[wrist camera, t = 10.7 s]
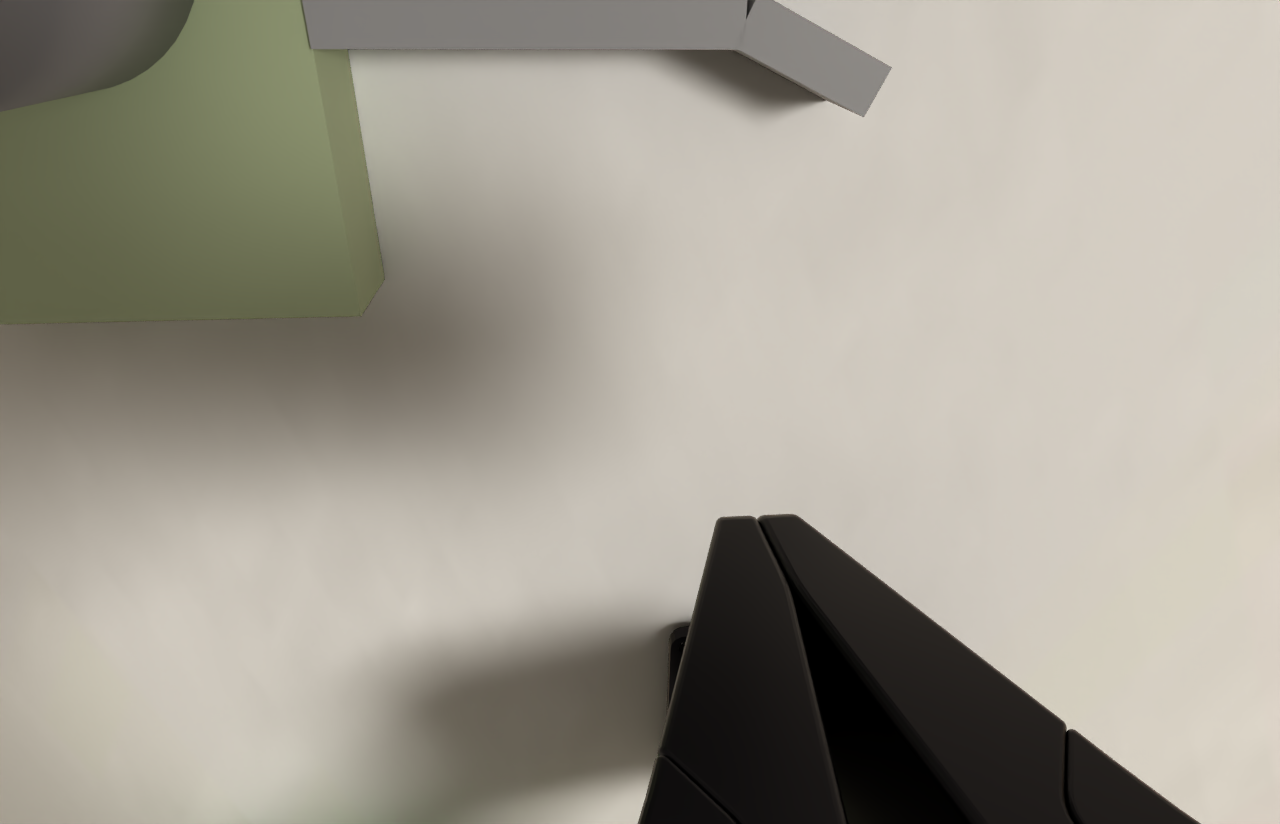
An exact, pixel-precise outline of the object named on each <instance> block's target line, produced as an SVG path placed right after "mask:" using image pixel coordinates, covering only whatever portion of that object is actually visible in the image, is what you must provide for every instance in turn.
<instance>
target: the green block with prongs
mask: <svg viewBox="0 0 1280 824" xmlns="http://www.w3.org/2000/svg"><path fill="white" fill-rule="evenodd" d="M348 49H574V50H734V51H736V52H738V53H740V54H741V55H743V56H745V57H747V58H749V59H751V60H753V61H754V62H756V63H758V64H760V65H762V66H764V67H766V68H767V69H769V70H771V71H773V72H775V73H777V74H779V75H780V76H782V77H784V78H786V79H788V80H790V81H792V82H793V83H795V84H797V85H799V86H801V87H803V88H805V89H806V90H808V91H810V92H812V93H814V94H816V95H818V96H819V97H821V98H823V99H825V100H827V101H829V102H831V103H833V104H836V105H838V106H840V107H842V108H845V109H847V110H849V111H851V112H854V113H856V114H858V115H860V116H862V117H864V116H865V114H866V112H867V111H868V109H869V107H870V105H871V104H872V102H873V100H874V98H875V97H876V95H877V93H878V91H879V89H880V88H881V86H882V84H883V82H884V81H885V79H886V77H887V75H888V74H889V72H890V70H891V68H892V67H890V66H888V65H887V64H885V63H883V62H881V61H879V60H878V59H876V58H874V57H872V56H871V55H869V54H867V53H865V52H864V51H862V50H860V49H858V48H857V47H855V46H853V45H851V44H850V43H848V42H846V41H844V40H842V39H841V38H839V37H837V36H835V35H834V34H832V33H830V32H828V31H827V30H825V29H823V28H821V27H820V26H818V25H816V24H814V23H812V22H811V21H809V20H807V19H805V18H804V17H802V16H800V15H798V14H797V13H795V12H793V11H791V10H790V9H788V8H786V7H784V6H783V5H781V4H779V3H777V2H775V1H774V0H0V324H41V323H85V322H130V321H174V320H219V319H263V318H308V317H352V316H362V314H363V313H364V311H365V309H366V308H367V306H368V305H369V303H370V302H371V300H372V299H373V297H374V295H375V294H376V292H377V291H378V289H379V288H380V286H381V284H382V283H383V281H384V280H385V278H384V272H383V266H382V260H381V253H380V247H379V241H378V235H377V229H376V222H375V216H374V210H373V204H372V198H371V191H370V185H369V179H368V173H367V167H366V160H365V154H364V148H363V142H362V136H361V129H360V123H359V117H358V111H357V105H356V98H355V92H354V86H353V80H352V74H351V67H350V61H349V55H348Z"/></svg>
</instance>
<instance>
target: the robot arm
mask: <svg viewBox="0 0 1280 824" xmlns="http://www.w3.org/2000/svg"><path fill="white" fill-rule="evenodd" d="M682 642H685V644H681V643H682ZM638 824H1200V823H1199V822H1198V821H1196V820H1195V819H1193V818H1192V817H1190V816H1189V815H1187V814H1186V813H1185V812H1183V811H1182V810H1180V809H1179V808H1178V807H1176V806H1175V805H1174V804H1172V803H1171V802H1170V801H1168V800H1167V799H1165V798H1164V797H1163V796H1161V795H1160V794H1159V793H1157V792H1156V791H1155V790H1153V789H1152V788H1151V787H1149V786H1148V785H1147V784H1145V783H1144V782H1143V781H1141V780H1140V779H1139V778H1137V777H1136V776H1135V775H1133V774H1132V773H1131V772H1129V771H1128V770H1127V769H1125V768H1124V767H1123V766H1121V765H1120V764H1118V763H1117V762H1116V761H1114V760H1113V759H1112V758H1111V757H1109V756H1108V755H1107V754H1105V753H1104V752H1103V751H1102V750H1100V749H1099V748H1098V747H1096V746H1095V745H1094V744H1092V743H1091V742H1090V741H1089V740H1087V739H1086V738H1085V737H1083V736H1082V735H1081V734H1080V733H1078V732H1077V731H1076V730H1073V729H1070V730H1068V731H1067V732H1066V724H1065V723H1064V721H1062V720H1061V719H1060V718H1058V717H1057V716H1056V715H1055V714H1053V713H1052V712H1051V711H1049V710H1048V709H1047V708H1046V707H1044V706H1043V705H1042V704H1040V703H1039V702H1038V701H1036V700H1035V699H1034V698H1033V697H1031V696H1030V695H1029V694H1027V693H1026V692H1025V691H1024V690H1022V689H1021V688H1020V687H1018V686H1017V685H1016V684H1015V683H1013V682H1012V681H1011V680H1009V679H1008V678H1007V677H1005V676H1004V675H1003V674H1002V673H1000V672H999V671H998V670H996V669H995V668H994V667H993V666H991V665H990V664H989V663H987V662H986V661H985V660H984V659H982V658H981V657H980V656H978V655H977V654H976V653H974V652H973V651H972V650H971V649H969V648H968V647H967V646H965V645H964V644H963V643H962V642H960V641H959V640H958V639H956V638H955V637H954V636H953V635H951V634H950V633H949V632H947V631H946V630H945V629H944V628H942V627H941V626H940V625H938V624H937V623H936V622H934V621H933V620H932V619H931V618H929V617H928V616H927V615H925V614H924V613H923V612H922V611H920V610H919V609H918V608H916V607H915V606H914V605H913V604H911V603H910V602H909V601H907V600H906V599H905V598H903V597H902V596H901V595H900V594H898V593H897V592H896V591H894V590H893V589H892V588H891V587H889V586H888V585H887V584H885V583H884V582H883V581H882V580H880V579H879V578H878V577H876V576H875V575H874V574H872V573H871V572H870V571H869V570H867V569H866V568H865V567H863V566H862V565H861V564H860V563H858V562H857V561H856V560H854V559H853V558H852V557H851V556H849V555H848V554H847V553H845V552H844V551H843V550H842V549H840V548H839V547H838V546H836V545H835V544H834V543H832V542H831V541H830V540H829V539H827V538H826V537H825V536H823V535H822V534H821V533H820V532H818V531H817V530H816V529H814V528H813V527H812V526H811V525H809V524H808V523H807V522H805V521H804V520H803V519H801V518H800V517H798V516H797V515H794V514H779V515H762V516H760V517H759V518H758V519H756V518H754V517H752V516H732V517H721V518H719V519H718V520H717V521H716V525H715V528H714V532H713V536H712V540H711V544H710V548H709V552H708V556H707V560H706V564H705V568H704V572H703V576H702V579H701V583H700V587H699V591H698V595H697V599H696V603H695V607H694V611H693V615H692V619H691V623H690V627H682V628H678V629H676V630H674V631H673V632H672V633H671V635H670V638H669V658H668V688H667V717H666V721H665V725H664V729H663V733H662V737H661V741H660V745H659V749H658V757H657V758H656V759H655V762H654V766H653V770H652V774H651V778H650V782H649V786H648V790H647V794H646V798H645V801H644V804H643V808H642V811H641V814H640V818H639V821H638Z"/></svg>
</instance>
